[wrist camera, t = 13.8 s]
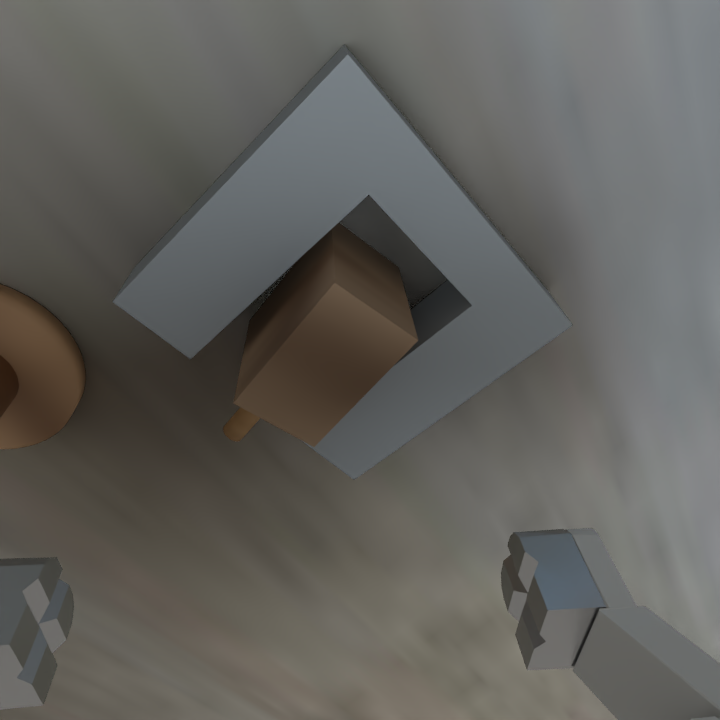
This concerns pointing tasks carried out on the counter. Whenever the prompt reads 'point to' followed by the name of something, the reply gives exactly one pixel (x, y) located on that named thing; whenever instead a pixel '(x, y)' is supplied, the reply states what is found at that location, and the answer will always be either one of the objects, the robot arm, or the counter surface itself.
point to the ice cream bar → (322, 339)
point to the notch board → (314, 220)
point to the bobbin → (35, 372)
